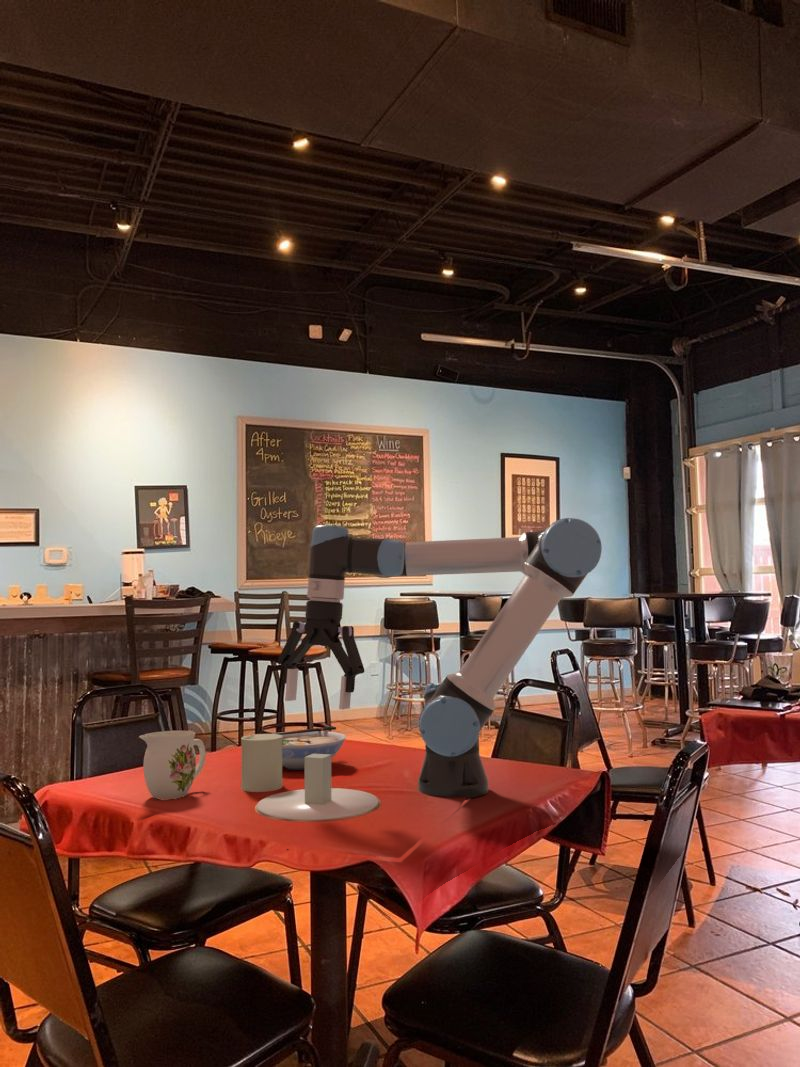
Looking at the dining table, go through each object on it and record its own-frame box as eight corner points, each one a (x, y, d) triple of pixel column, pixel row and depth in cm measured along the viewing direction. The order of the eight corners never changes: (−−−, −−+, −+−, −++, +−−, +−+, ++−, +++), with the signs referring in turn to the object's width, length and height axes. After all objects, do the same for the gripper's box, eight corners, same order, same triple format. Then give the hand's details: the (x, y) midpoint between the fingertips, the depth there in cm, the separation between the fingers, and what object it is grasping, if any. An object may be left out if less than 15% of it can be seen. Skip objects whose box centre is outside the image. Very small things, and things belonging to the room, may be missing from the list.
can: (237, 787, 180) (238, 733, 181) (278, 784, 183) (278, 730, 184) (243, 796, 171) (244, 739, 173) (286, 792, 175) (286, 736, 176)
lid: (395, 795, 168) (394, 748, 169) (349, 825, 145) (348, 770, 146) (292, 788, 176) (292, 743, 177) (234, 815, 153) (234, 764, 154)
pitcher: (221, 789, 178) (222, 726, 179) (157, 807, 163) (158, 738, 164) (187, 784, 184) (187, 723, 185) (122, 801, 169) (123, 734, 170)
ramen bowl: (270, 781, 186) (270, 745, 186) (238, 765, 205) (238, 733, 206) (366, 769, 198) (366, 735, 199) (327, 755, 218) (327, 724, 219)
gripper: (266, 596, 169) (257, 698, 167) (365, 603, 156) (357, 714, 154) (288, 597, 175) (280, 695, 173) (385, 604, 163) (378, 710, 161)
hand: (316, 704), depth 164 cm, fingers open, 13 cm apart
